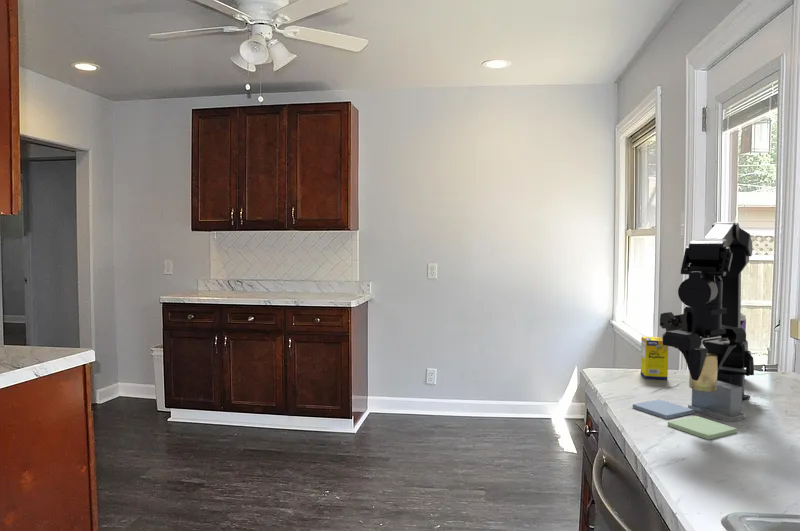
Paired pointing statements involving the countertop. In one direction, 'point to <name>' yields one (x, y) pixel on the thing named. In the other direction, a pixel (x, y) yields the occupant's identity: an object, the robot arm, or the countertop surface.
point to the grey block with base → (719, 402)
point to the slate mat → (663, 409)
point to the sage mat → (702, 427)
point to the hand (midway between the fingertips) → (703, 378)
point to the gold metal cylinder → (706, 375)
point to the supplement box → (654, 358)
